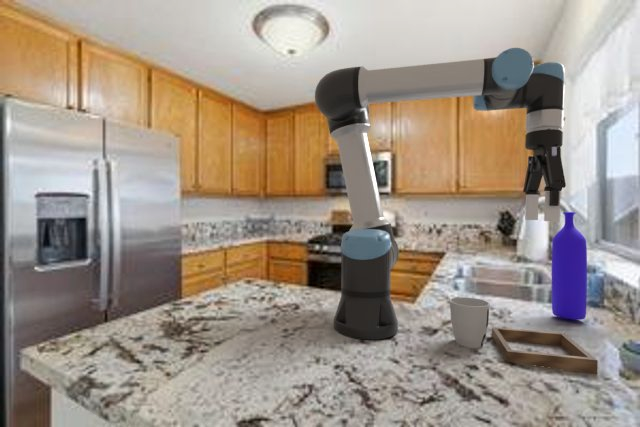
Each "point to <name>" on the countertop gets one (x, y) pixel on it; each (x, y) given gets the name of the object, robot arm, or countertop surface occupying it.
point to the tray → (576, 362)
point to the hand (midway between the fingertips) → (540, 220)
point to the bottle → (569, 272)
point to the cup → (469, 321)
